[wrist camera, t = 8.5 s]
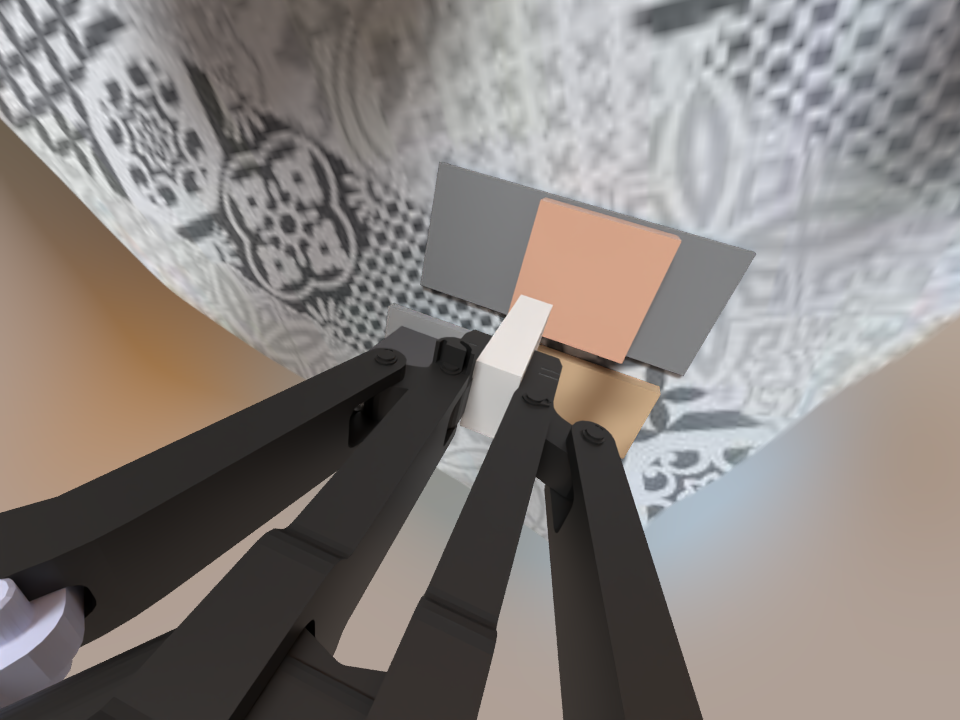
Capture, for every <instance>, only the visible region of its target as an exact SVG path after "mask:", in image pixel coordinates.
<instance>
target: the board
mask: <svg viewBox="0 0 960 720" xmlns="http://www.w3.org/2000/svg"><path fill="white" fill-rule="evenodd" d="M537 351H539V352H542V353H545V354H548V355H551V356H553V357H556V358H559V359H560V362H561V364H562V366H563V367H562V371H561V374H560V378H559V382H558V386H557V390H556V394H555V397H554V401H553V402H554V409H555V410H556V412H557V413H558V414H559V415H560V416H561V417H562V418H563V419H564V420H566V421H567V422H569V423H570V424H572V425H573V424H574V423H575V422H578V421H582V420H583V421H591V422H594V423H597V424H599V425H600V426H602V427H604V428H605V429H606V430H608V431H609V432H610V433H611V434H612V436H613V438H614V440H615V442H616V446H617V449H618V452H619V455H620V458H623V459H624V457H625V455H626V453H627V452H628V450H629V448H630V446H631V445H632V443H633V441H634V439H635V438H636V436H637V434H638V432H639V431H640V429H641V427H642V425H643V424H644V422H645V420H646V419H647V417H648V415H649V413H650V412H651V410H652V408H653V406H654V405H655V403H656V401H657V399H658V398H659V396H660V388H659V386H656V385H653V384H651V383H648V382H645V381H642V380H639V379H637V378H634V377H631V376H628V375H625V374H622V373H620V372H617V371H614V370H611V369H608V368H605V367H603V366H600V365H597V364H594V363H591V362H588V361H586V360H583V359H580V358H577V357H574V356H572V355H569V354H566V353H563V352H560V351H557V350H555V349H552V348H549V347H546V346H543V345H540V344H539V346H538V349H537Z"/></svg>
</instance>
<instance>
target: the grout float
mask: <svg viewBox="0 0 960 720" xmlns="http://www.w3.org/2000/svg"><path fill="white" fill-rule="evenodd" d="M470 331H471V330H468V329H465V328H462V327H460V326H457V325H454V324H451V323H448V322H445V321H443V320H440V319H437V318H434V317H431V316H429V315H426V314H423V313H420V312H417V311H415V310H412V309H409V308H406V307H403V306H400V305H398V304H395V303H393V304H391V305H390V306H388V315H387V324H386V333H385V339H383V340H382V341H381V342H379V343H378V344H377V345H375V346H374V347H373V348H371V349H370V350H372V349H376V348H391V349H394V350H397V351H399V352H401V353H402V354H403V355H405V357H406V359H407V362H406V365H412V366H418V367H428V366H429V365H430V364H431V363H432V361H433V356H434V351H435V345H436V341H437V340H438V339H440V338H443V337H456V338H460V339H461V338H462V337H463V336H464V334H465V333H467V332H470ZM370 350H369V351H370Z"/></svg>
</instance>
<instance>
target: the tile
mask: <svg viewBox="0 0 960 720" xmlns="http://www.w3.org/2000/svg"><path fill="white" fill-rule="evenodd" d="M680 244H681V239H680V238H679V237H678V236H677V235H674V234H671V233H667V232H664V231H660V230H657V229H653V228H650V227H646V226H643V225H639V224H636V223H633V222H629V221H626V220H622V219H619V218H615V217H612V216H608V215H605V214H602V213H598V212H595V211H591V210H588V209H584V208H581V207H577V206H574V205H571V204H567V203H564V202H560V201H557V200H553V199H550V198H546V197H545V198H543V199H541V201H540V204H539V207H538V211H537V214H536V218H535V221H534V225H533V228H532V232H531V235H530V239H529V242H528V246H527V249H526V253H525V256H524V260H523V263H522V266H521V270H520V273H519V277H518V280H517V284H516V287H515V291H514V294H513V298H512V301H511V305H510V308H509V312H510V310H511V309H512V307H513V306H514V304H515V303H516V301H517V300H518V298H519V297H520V295H524V296H527V297H530V298H533V299H536V300H539V301H542V302H545V303H548V304H551V305H553V306H552V309H551V312H550V315H549V318H548V321H547V323H546V326H545V329H544V332H543V335H542V336H543V337H546V338H549V339H552V340H555V341H558V342H560V343H563V344H566V345H569V346H572V347H575V348H578V349H580V350H583V351H586V352H589V353H592V354H595V355H598V356H600V357H603V358H606V359H609V360H612V361H615V362H618V363H620V364H622V362H623V360H624V358H625V356H626V354H627V352H628V350H629V348H630V346H631V344H632V342H633V340H634V338H635V336H636V334H637V332H638V330H639V328H640V325H641V323H642V321H643V319H644V317H645V315H646V313H647V311H648V309H649V307H650V305H651V303H652V301H653V299H654V297H655V295H656V293H657V291H658V289H659V287H660V285H661V282H662V280H663V278H664V276H665V274H666V272H667V270H668V268H669V266H670V264H671V262H672V260H673V258H674V256H675V254H676V252H677V250H678V248H679V246H680ZM509 312H508V313H509Z"/></svg>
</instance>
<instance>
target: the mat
mask: <svg viewBox="0 0 960 720" xmlns="http://www.w3.org/2000/svg"><path fill="white" fill-rule="evenodd" d="M545 197H546V198H550V199H553V200H557V201H560V202H564V203H567V204H571V205H574V206H577V207H581V208H584V209H588V210H591V211H595V212H598V213H602V214H605V215H608V216H612V217H615V218H619V219H622V220H626V221H629V222H633V223H636V224H639V225H643V226H646V227H650V228H653V229H657V230H660V231H664V232H667V233H671V234H674V235H677V236H678V237H679V238H680V239H681V244H680V246H679V248H678V250H677V252H676V254H675V256H674V258H673V260H672V262H671V264H670V266H669V268H668V270H667V272H666V274H665V276H664V278H663V280H662V282H661V285H660V287H659V289H658V291H657V293H656V295H655V297H654V299H653V301H652V303H651V305H650V307H649V309H648V311H647V313H646V315H645V317H644V319H643V321H642V323H641V325H640V328H639V330H638V332H637V334H636V336H635V338H634V340H633V342H632V344H631V346H630V348H629V350H628V352H627V354H626V356H627V357H630V358H633V359H636V360H639V361H642V362H645V363H648V364H651V365H653V366H656V367H659V368H662V369H665V370H668V371H671V372H674V373H677V374H679V375H682V376H684V374H685V373H686V371H687V369H688V368H689V366H690V364H691V363H692V361H693V359H694V357H695V356H696V354H697V352H698V351H699V349H700V347H701V346H702V344H703V342H704V341H705V339H706V337H707V336H708V334H709V332H710V331H711V329H712V327H713V326H714V324H715V322H716V321H717V319H718V317H719V315H720V314H721V312H722V310H723V309H724V307H725V305H726V304H727V302H728V300H729V299H730V297H731V295H732V294H733V292H734V290H735V289H736V287H737V285H738V284H739V282H740V280H741V279H742V277H743V275H744V273H745V272H746V270H747V268H748V267H749V265H750V263H751V262H752V260H753V258H754V257H755V255H756V253H755V252H753V251H749V250H746V249H742V248H739V247H735V246H732V245H728V244H725V243H721V242H718V241H714V240H711V239H707V238H704V237H700V236H697V235H694V234H690V233H687V232H683V231H680V230H676V229H673V228H669V227H666V226H662V225H659V224H655V223H652V222H648V221H645V220H641V219H638V218H634V217H631V216H628V215H624V214H621V213H617V212H614V211H610V210H607V209H603V208H600V207H596V206H593V205H589V204H586V203H582V202H579V201H575V200H572V199H568V198H565V197H562V196H558V195H555V194H551V193H548V192H544V191H541V190H537V189H534V188H530V187H527V186H523V185H520V184H516V183H513V182H509V181H506V180H502V179H499V178H496V177H492V176H489V175H485V174H482V173H478V172H475V171H471V170H468V169H464V168H461V167H457V166H454V165H450V164H447V163H443V162H439V168H438V175H437V181H436V188H435V194H434V201H433V207H432V213H431V220H430V226H429V233H428V239H427V246H426V252H425V259H424V265H423V271H422V278H421V284H420V285H422V286H425V287H428V288H431V289H434V290H437V291H440V292H443V293H445V294H448V295H451V296H454V297H457V298H460V299H463V300H466V301H469V302H471V303H474V304H477V305H480V306H483V307H486V308H489V309H492V310H495V311H497V312H500V313H503V314H506V315H508V312H509V308H510V305H511V301H512V298H513V294H514V291H515V287H516V284H517V280H518V277H519V273H520V270H521V266H522V263H523V260H524V256H525V253H526V249H527V246H528V242H529V239H530V235H531V232H532V228H533V225H534V221H535V218H536V214H537V211H538V207H539V204H540V201H541V199H543V198H545Z"/></svg>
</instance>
